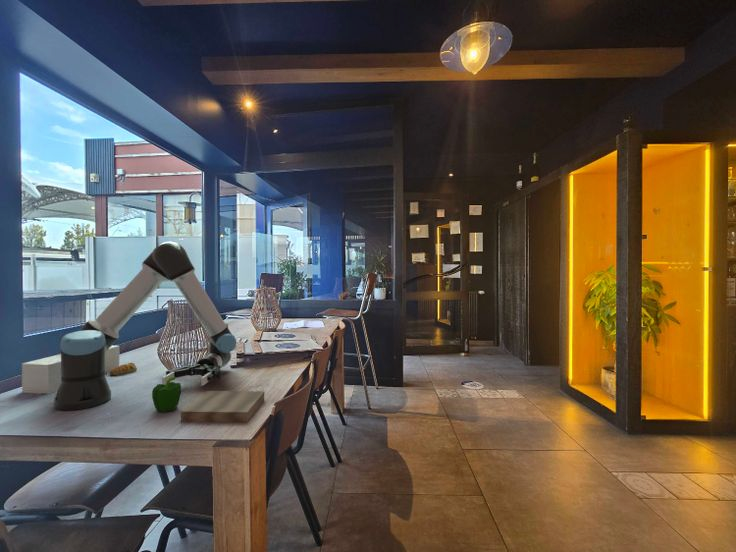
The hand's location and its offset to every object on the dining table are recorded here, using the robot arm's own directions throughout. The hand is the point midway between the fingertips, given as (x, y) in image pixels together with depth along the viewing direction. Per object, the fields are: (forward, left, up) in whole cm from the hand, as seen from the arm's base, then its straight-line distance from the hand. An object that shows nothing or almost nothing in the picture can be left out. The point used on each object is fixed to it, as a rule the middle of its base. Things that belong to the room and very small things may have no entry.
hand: (182, 381), depth 125 cm
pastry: (-40, +29, -6) cm, 50 cm away
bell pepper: (0, -10, -6) cm, 11 cm away
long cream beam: (-53, +19, -6) cm, 57 cm away
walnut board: (+19, -10, -6) cm, 22 cm away
